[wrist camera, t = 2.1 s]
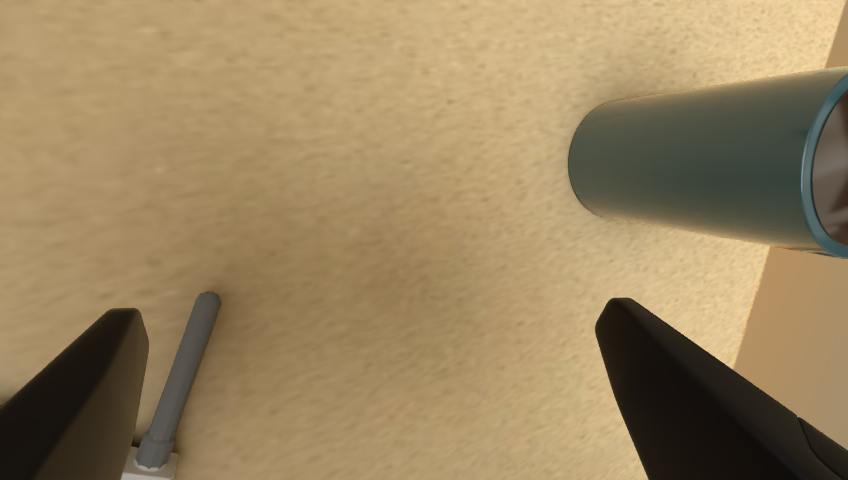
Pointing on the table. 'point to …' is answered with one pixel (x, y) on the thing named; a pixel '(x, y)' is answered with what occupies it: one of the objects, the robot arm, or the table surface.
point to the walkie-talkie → (173, 398)
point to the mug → (725, 161)
